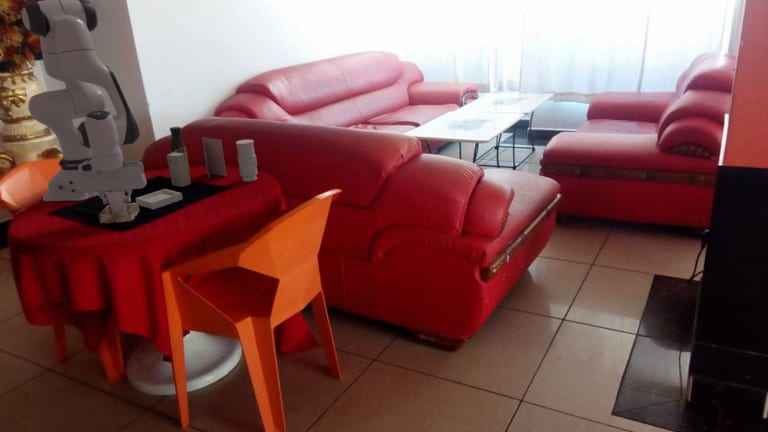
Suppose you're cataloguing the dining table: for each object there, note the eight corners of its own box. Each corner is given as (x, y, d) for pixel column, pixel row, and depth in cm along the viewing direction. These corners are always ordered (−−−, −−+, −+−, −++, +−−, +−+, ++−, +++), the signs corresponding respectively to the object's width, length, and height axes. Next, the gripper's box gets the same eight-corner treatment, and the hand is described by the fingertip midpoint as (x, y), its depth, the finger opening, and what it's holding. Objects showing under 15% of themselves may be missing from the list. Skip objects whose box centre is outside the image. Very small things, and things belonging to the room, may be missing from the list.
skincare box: (191, 184, 231) (186, 153, 227) (182, 187, 228) (177, 156, 223) (180, 182, 234) (175, 151, 230) (171, 185, 231) (166, 154, 227)
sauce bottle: (181, 178, 239) (172, 129, 232) (170, 176, 242) (162, 128, 235) (193, 174, 244) (185, 126, 237) (183, 172, 247) (175, 125, 240)
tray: (152, 209, 205) (151, 202, 204) (136, 204, 210) (135, 198, 210) (182, 199, 214) (181, 193, 213) (166, 195, 219) (165, 188, 218)
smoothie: (123, 221, 195) (114, 180, 190) (106, 220, 197) (97, 179, 192) (134, 214, 201) (126, 174, 196) (117, 213, 202) (109, 174, 197)
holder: (100, 223, 194) (98, 215, 193) (109, 213, 203) (107, 205, 202) (132, 221, 195) (130, 212, 194) (139, 210, 204) (137, 202, 203)
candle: (256, 181, 231) (251, 143, 225) (238, 182, 231) (233, 144, 226) (260, 176, 237) (255, 139, 232) (242, 176, 237) (238, 139, 232)
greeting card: (205, 173, 245) (199, 137, 239) (223, 170, 247) (218, 135, 242) (208, 180, 235) (202, 143, 229) (227, 177, 237) (222, 140, 232)
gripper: (144, 157, 196) (152, 197, 201) (79, 162, 194) (88, 202, 199) (139, 162, 190) (147, 203, 195) (72, 167, 188) (82, 208, 193)
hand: (117, 202), depth 197 cm, fingers closed on smoothie, 5 cm apart
